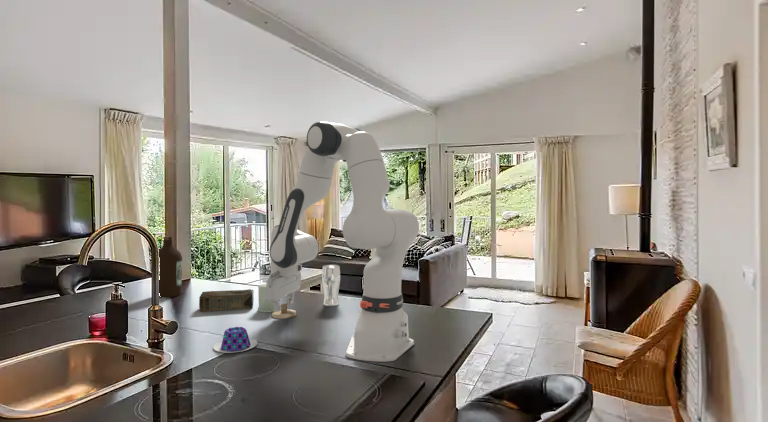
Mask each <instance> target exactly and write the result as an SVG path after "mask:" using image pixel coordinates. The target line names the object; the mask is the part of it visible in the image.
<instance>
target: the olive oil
mask: <svg viewBox="0 0 768 422" xmlns="http://www.w3.org/2000/svg"><path fill="white" fill-rule="evenodd" d="M158 251H159V257H160V280H159V293H160V296H161V297H160V298H162V297H167V298H174V297H179V296H181V295H182V291H183V289H182V287H183V286H182V285H183V283H182V282H183V279H182V277H183V256H182V253H181V252H180V251H179V250H178V249H177V248H176V247H175V246H174V245H173V236H170V235H167V236H166V235H165V236H163V246H162V247H160V249H159V250H158Z"/></svg>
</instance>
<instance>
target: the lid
mask: <svg viewBox="0 0 768 422" xmlns="http://www.w3.org/2000/svg"><path fill="white" fill-rule="evenodd" d="M280 306H281V310H280V311H279V312H277V311H274V312H271V317H272V318H273V319H274V318H275V319H282V320H283V319H291V318H295V316H297V311H296V310H294V309H288V304H287V303H281V304H280Z"/></svg>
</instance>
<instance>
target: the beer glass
mask: <svg viewBox="0 0 768 422" xmlns="http://www.w3.org/2000/svg"><path fill="white" fill-rule="evenodd" d="M321 276H322V277H321V279H322V280H321V281H322V286H323V287H322V288H323V292H324V299H323V306H325V307H336V306H339V305H340V300H339V290H340V284H341V269H340V265H338V264H325V265H322V271H321Z"/></svg>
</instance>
